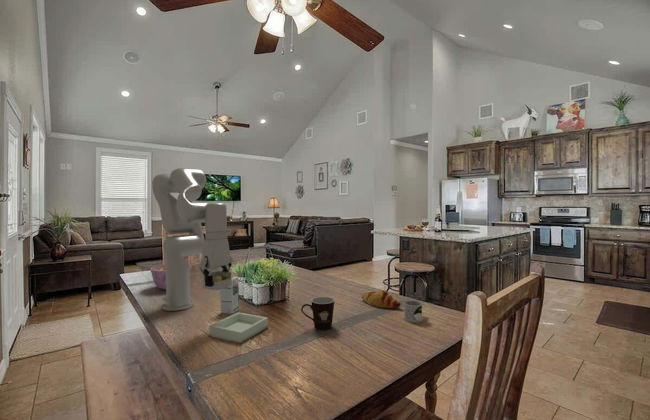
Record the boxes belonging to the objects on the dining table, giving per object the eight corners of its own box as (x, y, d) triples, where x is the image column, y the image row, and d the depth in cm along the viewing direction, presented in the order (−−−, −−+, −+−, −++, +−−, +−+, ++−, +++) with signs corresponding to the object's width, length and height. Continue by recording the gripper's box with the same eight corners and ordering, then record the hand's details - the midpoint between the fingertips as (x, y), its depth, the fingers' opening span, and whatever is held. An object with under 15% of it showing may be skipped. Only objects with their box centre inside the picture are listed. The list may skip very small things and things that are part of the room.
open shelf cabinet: (202, 288, 117) (202, 274, 117) (217, 283, 123) (217, 270, 123) (217, 290, 114) (216, 276, 113) (231, 285, 120) (231, 272, 120)
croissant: (358, 308, 150) (352, 294, 147) (369, 294, 156) (364, 281, 153) (397, 318, 135) (392, 304, 132) (408, 302, 141) (403, 288, 138)
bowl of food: (159, 284, 181) (159, 264, 181) (196, 283, 183) (195, 263, 183) (143, 294, 161) (143, 271, 161) (184, 293, 163) (184, 270, 163)
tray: (209, 335, 111) (209, 325, 111) (238, 321, 124) (238, 312, 124) (241, 343, 105) (241, 332, 105) (268, 327, 118) (268, 317, 118)
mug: (416, 324, 120) (416, 307, 120) (401, 320, 125) (401, 303, 125) (428, 317, 128) (428, 300, 128) (413, 313, 132) (413, 297, 132)
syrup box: (233, 314, 132) (232, 279, 132) (220, 313, 134) (219, 278, 133) (239, 309, 138) (239, 276, 138) (226, 308, 139) (226, 275, 139)
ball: (214, 286, 118) (210, 279, 118) (218, 283, 121) (214, 276, 121) (221, 283, 118) (217, 276, 118) (224, 280, 121) (221, 273, 121)
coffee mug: (337, 324, 121) (337, 298, 121) (330, 332, 113) (330, 304, 113) (309, 320, 125) (308, 295, 124) (300, 328, 117) (300, 301, 116)
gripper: (225, 233, 128) (226, 277, 128) (190, 238, 112) (191, 288, 112) (240, 234, 124) (241, 279, 125) (205, 238, 109) (206, 290, 109)
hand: (217, 283), depth 118 cm, fingers closed on open shelf cabinet, 7 cm apart
